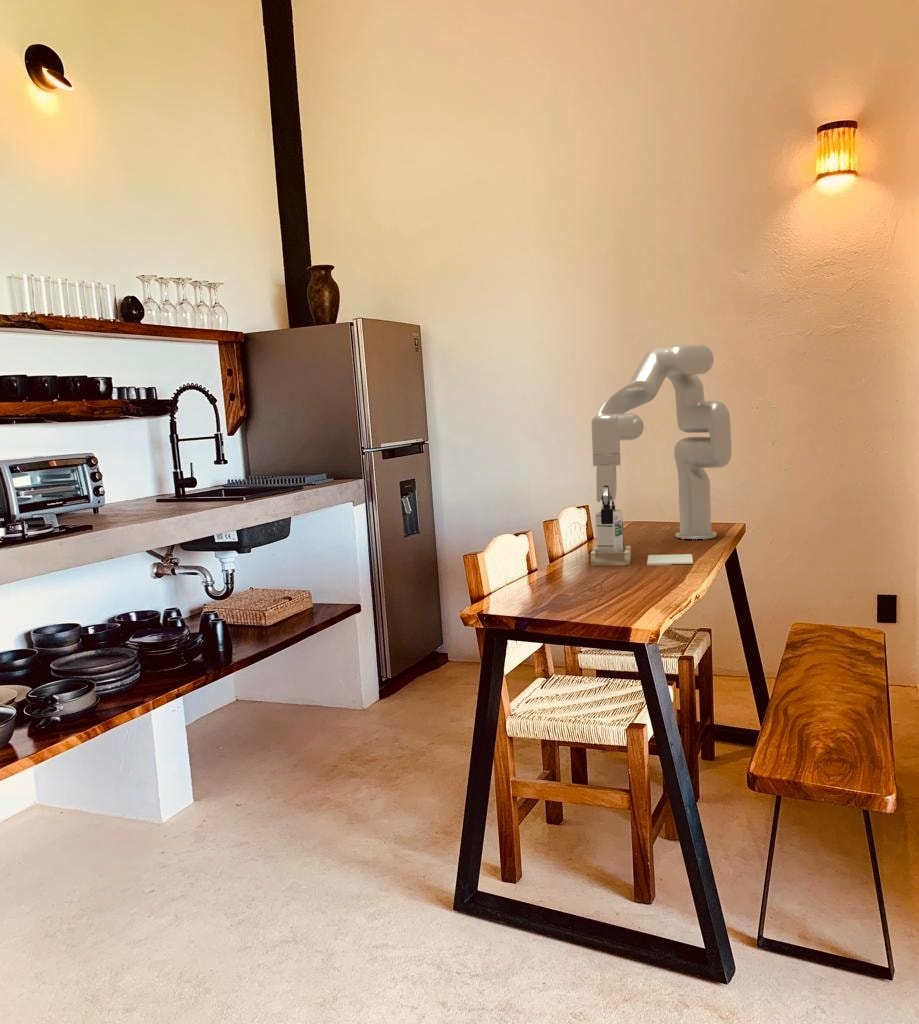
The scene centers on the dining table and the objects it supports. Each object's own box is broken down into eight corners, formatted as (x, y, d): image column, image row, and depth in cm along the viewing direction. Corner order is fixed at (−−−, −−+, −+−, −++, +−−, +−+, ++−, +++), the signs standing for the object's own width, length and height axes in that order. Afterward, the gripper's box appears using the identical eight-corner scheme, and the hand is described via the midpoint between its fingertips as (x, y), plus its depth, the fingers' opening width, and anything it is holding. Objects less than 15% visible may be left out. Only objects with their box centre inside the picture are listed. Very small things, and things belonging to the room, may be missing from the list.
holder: (594, 558, 246) (593, 546, 245) (631, 558, 243) (630, 545, 243) (591, 565, 236) (590, 553, 235) (629, 565, 233) (628, 552, 233)
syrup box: (616, 564, 235) (613, 512, 234) (597, 563, 239) (594, 512, 237) (625, 560, 240) (623, 509, 238) (606, 559, 244) (604, 509, 242)
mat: (648, 557, 243) (648, 555, 243) (691, 556, 240) (691, 554, 240) (647, 565, 231) (647, 563, 231) (693, 564, 228) (693, 562, 228)
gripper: (595, 458, 245) (597, 518, 247) (590, 462, 228) (592, 526, 230) (622, 457, 243) (623, 517, 245) (618, 461, 227) (620, 525, 228)
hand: (608, 521), depth 238 cm, fingers open, 9 cm apart
